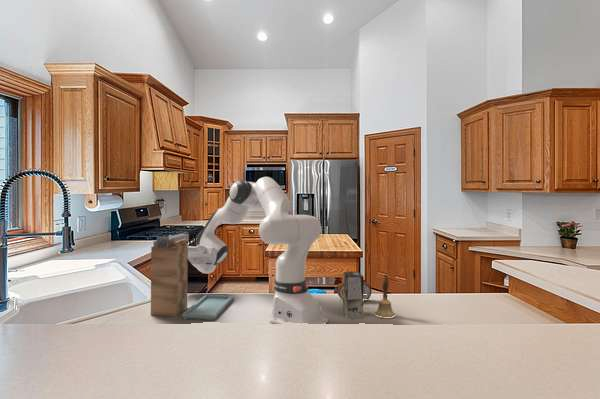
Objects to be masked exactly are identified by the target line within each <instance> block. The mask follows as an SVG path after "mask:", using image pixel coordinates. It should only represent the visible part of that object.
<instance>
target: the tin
mask: <svg viewBox="0 0 600 399" xmlns="http://www.w3.org/2000/svg"><path fill="white" fill-rule="evenodd" d="M343 287H344V281H343V282H340V284H339V285H338V287H337V295H338V296H339V298H340V299H341V300H342V301H343ZM363 294H367V295H363V299H368V300H369V299H370V298H371V295H372V288H371V287H370V285H369V284H368V283H367V282H365V281H364V288H363Z"/></svg>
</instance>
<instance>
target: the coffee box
mask: <svg viewBox="0 0 600 399" xmlns="http://www.w3.org/2000/svg"><path fill="white" fill-rule="evenodd" d="M364 279H365V278H364V275H362V274H361V273H360V272H359V271H344V272H343V282H344V287H343V300H342V305H343V306H342V312H343V311H344V312H343V314H344V315H345V317H346V318H347V319H363V318H364V301H363V288H364V282H365V281H364Z"/></svg>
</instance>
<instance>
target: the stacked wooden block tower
mask: <svg viewBox="0 0 600 399" xmlns="http://www.w3.org/2000/svg"><path fill="white" fill-rule="evenodd" d="M156 246H157V239H156V240H154V241H153V246H151V248H150V249H151V250H150V251H151V253H150V255H151V256H150V257H151V258H150V260H151V261H150V262H151V263H150V315H151V316H163V317H164V316H165V317H177V316H178V315H180V314H181V313H183V311H185V310H186V309H187V308H188V276H189V275H188V273H189V272H188V262H189V259H188V246H189V243H187V241H186V239H183V240H179V241H176V242H175V245H174V246H171V247H169V248H156ZM185 308H186V309H185ZM184 309H185V310H184ZM179 313H180V314H179Z"/></svg>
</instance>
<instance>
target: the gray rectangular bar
mask: <svg viewBox="0 0 600 399" xmlns="http://www.w3.org/2000/svg"><path fill="white" fill-rule="evenodd" d="M183 239H186V242H188V241H189V240H190V234H189V233H177V234H175V235H171V236H156V240H157V246H156V248H169V247H171V246H174V245H175V242H176V241H179V240H183Z"/></svg>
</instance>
